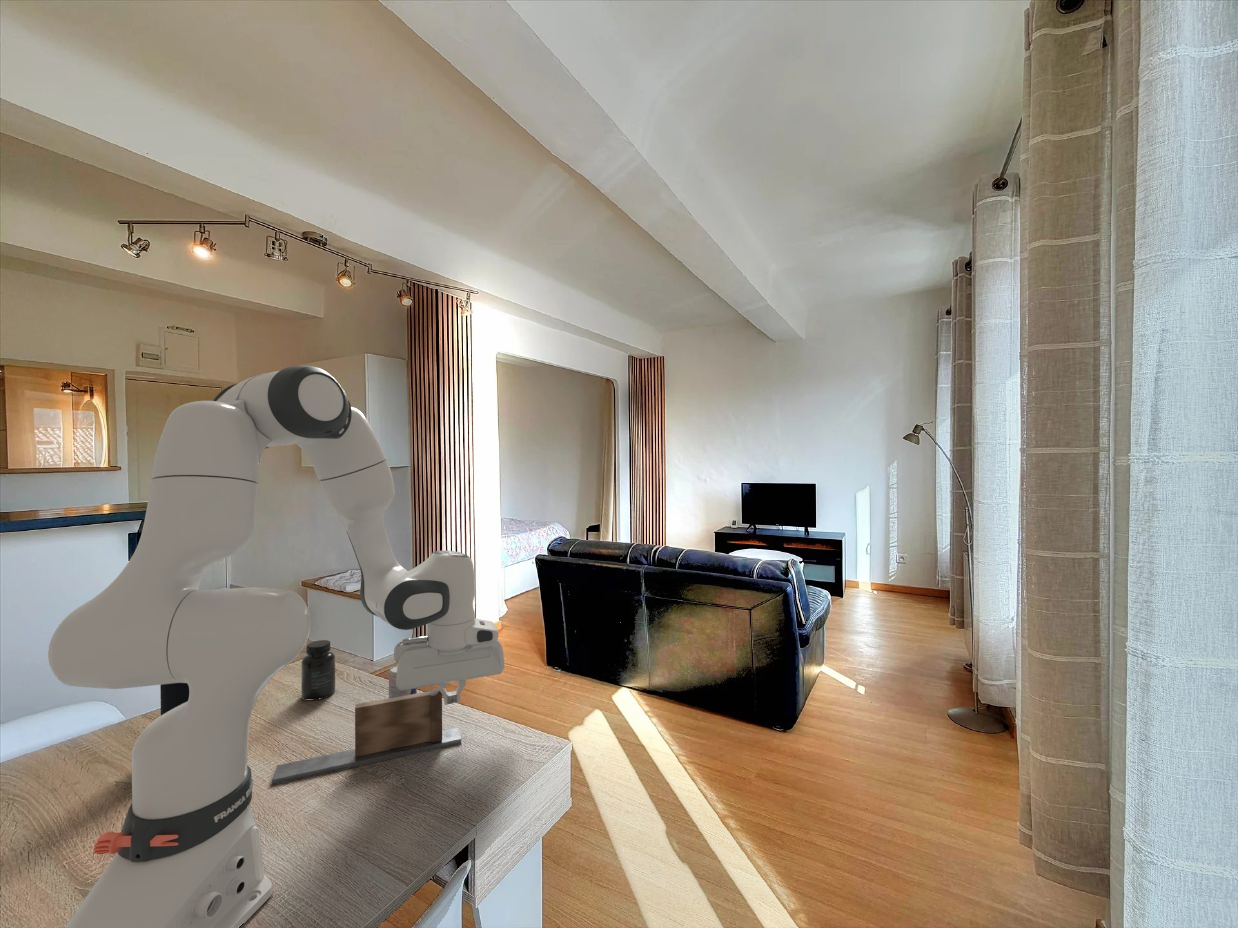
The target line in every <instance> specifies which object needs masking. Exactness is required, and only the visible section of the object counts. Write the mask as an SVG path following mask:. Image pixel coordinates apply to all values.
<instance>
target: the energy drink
mask: <svg viewBox="0 0 1238 928" xmlns="http://www.w3.org/2000/svg"><path fill="white" fill-rule="evenodd" d="M397 665H398V663H396V664H394V665H393V666H391V667H390V668H389V672H388V699H389V698H394V697H400V696H406V695H411V694H417V693H418V692H417V690H418V688H414V689H408V690H399V689H398V688H397V687H396V674H397Z"/></svg>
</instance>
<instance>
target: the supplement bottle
mask: <svg viewBox="0 0 1238 928" xmlns="http://www.w3.org/2000/svg"><path fill="white" fill-rule="evenodd" d="M306 644H307V643H306ZM305 646H306V648H305V649H306V650H305V651H306V652H305V654H306V655H305V656H304V657H303V658H302V660H301V663H300V666H301V667H300V669H301V673H300V674H301V680H300V681H301V683H300V684H301V689H300V690H301V698H302V699H303V698H304V699H303V700H305V699H319V698H323V699H325V698H324V697H326V696H328V697H329V695H330V696H332V695H333V694H334V693H333V692H335V691H336V655H335V653H334V652H332V651H331V650H332V647H331V641H330V640H326V639H322V640H321V639H319V640H315V641H311V642H308V644H307V645H305ZM332 693H333V694H332ZM331 694H332V695H331ZM326 698H327V697H326Z"/></svg>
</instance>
